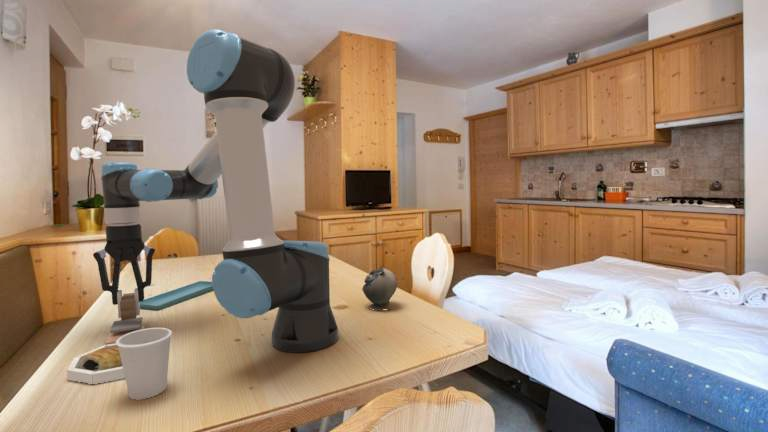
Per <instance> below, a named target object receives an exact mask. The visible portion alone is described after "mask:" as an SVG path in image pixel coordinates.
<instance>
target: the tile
mask: <svg viewBox="0 0 768 432" xmlns="http://www.w3.org/2000/svg"><path fill="white" fill-rule="evenodd" d="M142 329H146V328H145V326H141V328H140V329H134V330H127V331H121V332H114V333H110V332H109V334H108V337H107V338H106V341H105V342H104V345H108V344H114V343H116V341H117V340H118V339H119V338H120V337H121V336H123V335H125V334H128V333H130V332H134V331H137V330H142Z"/></svg>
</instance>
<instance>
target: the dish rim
mask: <svg viewBox="0 0 768 432" xmlns="http://www.w3.org/2000/svg"><path fill="white" fill-rule="evenodd" d="M109 347H117V345H116V343H114V344H108V345H105V344H104V345H101V346H98V347H96V348H94V349H92V350H91V349H90V350H89V351H87V352H85V353H82V354H79V355H77V356H75V357H74V358H73V359H72V361H71V363H70V364H69V367H68V368H67V370H66V371H67V380H68V379H71V380H75V381H80V382H85V383H88V384H87V385H90V384H95V385H99V384H98V383H100V384H104V382H105V383H109V381H110V382H114V381H120V380H125V379H124V378H125V375H124V370H123V366H120V367H116V368H112V369H107V370H101V371H96V372H95V371H89V370H84V369H78V366H79V365H80V362H81V361H82V360H83V357H85V356H87V355H88V354H89V353H92V352H95V351H96V350H99V349H102V348H109ZM119 379H120V380H119ZM80 382H79V383H80ZM85 383H84V384H85Z"/></svg>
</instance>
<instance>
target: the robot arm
mask: <svg viewBox="0 0 768 432" xmlns="http://www.w3.org/2000/svg"><path fill="white" fill-rule="evenodd" d="M288 61H289V60H288V59H287V58H285V56H283V55H282V54H281V53H279V52H278V51H277V50H274V49H273V48H268V47H266V46H263V45H262V44H258V43H256V42H253V41H251V40H248V39H246V38H244V37H240V36H239V35H238V34H237V33H233V32H227V31H224V30H221V29H210V30H207V31H205V32H203V33H201V35H200V36H198V38H196V40H195V41H194V42H193V44H192V47H191V49H190V51H189V53H188V57H187V60H186V62H187V63H186V75H187V80H188V82H189V84H190V85H191V86H192V87H193V89H194V90H196V91H197V92H199V93H201V94H203V96H204V97H203V99H204V106H205V109H206V110H207V111H208V112H210V113H211V114H212V115H213V116H214V118H215V126H216V131H215V132H214V133H213V135H212V136H211V137H210V138H209V139H208V140H207V142H206V143H205V144H204V145H203V147H202V148H201V149H200V150H199V152H198V153H197V154H196V155H195V157H194V158H192V160H191V162H190V163H189V164H188V165H187V166H186V168H184V169H183V170H181V169H174V170H173V169H156V168H144V169H138V165H137V164H136V163H134V162H124V161H122V162H121V161H119V162H116V161H115V162H109V161H108V162H105V163H103V164H102V166H101V177H100V179H101V184H102V196H103V198H102V199H103V211H104V213H103V214H104V223H105V224H106V225H107V226H106V227H105V236H106V244H105V246H104V248H103V249H101V250H99V251H98V250H97V251H94V253H93V254H92V256H93V258H94V260H95V261H96V262H97V266H98V272H99V277H100V285H101V289H102V291H103V292H110V293H111V301H112V304H113V306H115V305H116V306H117V312H118V319H121V310H120V301H121V299H122V297H123V290H122V289H119V285H120V284H119V283H120V275H121V266H122V262H124V261H127V262H128V261H129V262H130V265H131V267H132V272H133V275H134V280H135V282H136V288H134V290H133V291H134V292H133V293H135V306H136V316H137V317H138V316H140V315H141V308H140V301H143V300H145V288H147V287H150V286H151V284H152V274H153V272H152V271H153V256H154V253H155V252H156V247H154V246H152V247H150V246H148V245H145V242H144V241H143V235H142V234H143V233H142V225H141V224H139V223H140V222H141V221H142V220H141V219H142V218H141V207H140V205H141V204H140V202H149V203H151V202H160V201H171V200H172V201H173V200H174V201H175V200H176V201H177V200H202V199H207V198H212V197H214V196H215V195H216V193H217V189H218V188H219V182H218V179H219V178H220V177H222V187H223V196H224V203H225V210H226V220H227V228H228V238H229V239H228V241H227V243H226V244H225V245H224V247H223V248H222V257H223V260H221V261H220V262H219V263H218V264H217V265H216V266H214V271H213V273H212V277H211V282H212V286H213V290H212V291H213V293H214V296H215V298H216V300H217V302H218V304H219V305H220V306H221V307H222V308H224V310H225V312H227V313H228V314H229V315H232V317H236V318H239V319H250V318H253V317H257V316H262V315H264V314H267V313H268V312H270V311H272V310H275V309H277V308H278V310H277V313H276V316H275V319H274V324H273V326H272V330H271V334H270V335H271V345H272V346H273V348H274V349H277V350H279V351H282V352H286V353H287V352H288V353H308V352H314V351H320V350H322V349H326V348H328V347H330V346H333V345H334V344H335V343H336V342H337V341H338V339H339V327H338V324H337V320H336V318H335V316H334V314H333V311H332V307H331V301H330V300H331V299H330V296H331V295H330V294H331V293H330V255H329V254H330V253H329V247H328V245H327V244H326V243H325V242H321V241H311V240H310V241H309V240H286V239H285V240H283V239H281V238H280V237H278V236H277V234H276V232H275V231H276V230H275V221H274V216H273V215H274V213H273V205H272V197H271V189H270V180H269V172H268V171H269V169H268V161H267V152H266V143H265V136H264V135H265V134H264V128H265V127H266V126H267V124H269V123H274V122H276V121H277V120H278V119H279V118H280V117H281V116H282V115H283V114H284V112H285V111H286V109H287V108H288V107H289V105H290V103H291V101H292V99H293V97H294V93H295V88H296V80H295V74H294V71H293V68H292V66H291V64H290V63H289V62H288ZM142 251H144V254H145V256H146V261H145V280H143V276H142V273H141V269H140V264H139V260H138V257H139V255H140V254H141V253H142ZM107 255H109V256H110V257H111V258H112V259H113V261H114V262H113V271H112V281H111V284H110V281H109V276H108V271H107V264H106V260H105V258H106V256H107Z"/></svg>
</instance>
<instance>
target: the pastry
mask: <svg viewBox="0 0 768 432" xmlns="http://www.w3.org/2000/svg"><path fill="white" fill-rule="evenodd" d="M121 365H122V362H121V357H120V353H119V348H118V346H117V347H109V348H102V349H99V350H96V351H95V352H92V353H89V354H88V355H87V356H85V357H83V360H82V361H81V362H80V365H79V366H78V369H84V370H89V371H95V372H96V371H101V370H107V369H112V368H117V367H122V366H121Z"/></svg>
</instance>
